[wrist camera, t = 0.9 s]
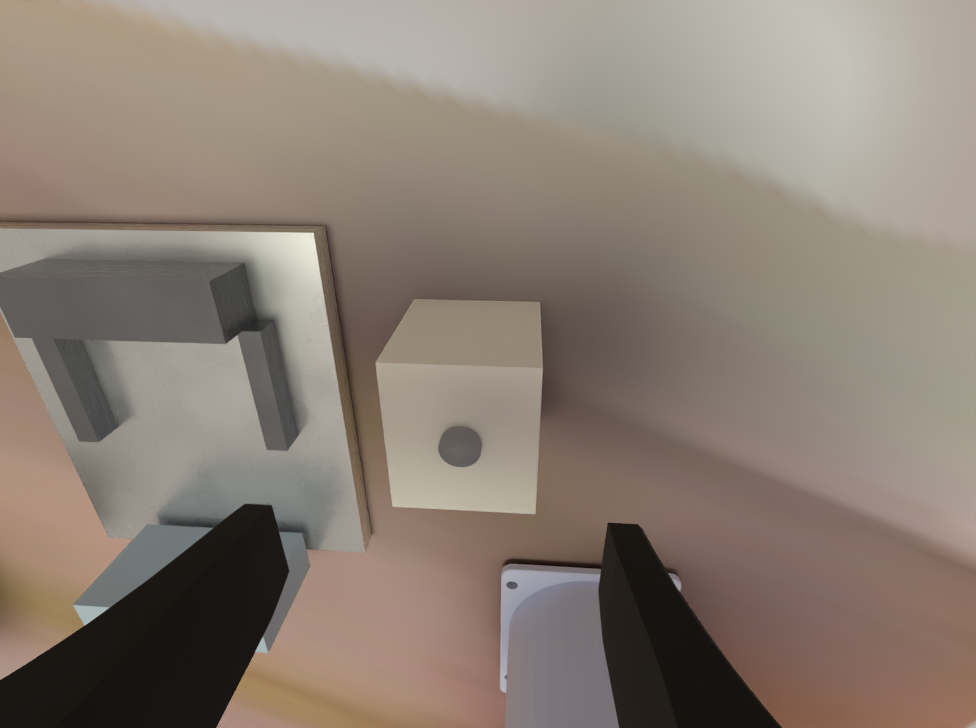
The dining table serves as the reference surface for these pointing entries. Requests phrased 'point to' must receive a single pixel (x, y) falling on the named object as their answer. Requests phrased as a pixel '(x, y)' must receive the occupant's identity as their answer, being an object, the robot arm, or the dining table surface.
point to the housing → (463, 405)
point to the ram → (164, 546)
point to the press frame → (191, 371)
